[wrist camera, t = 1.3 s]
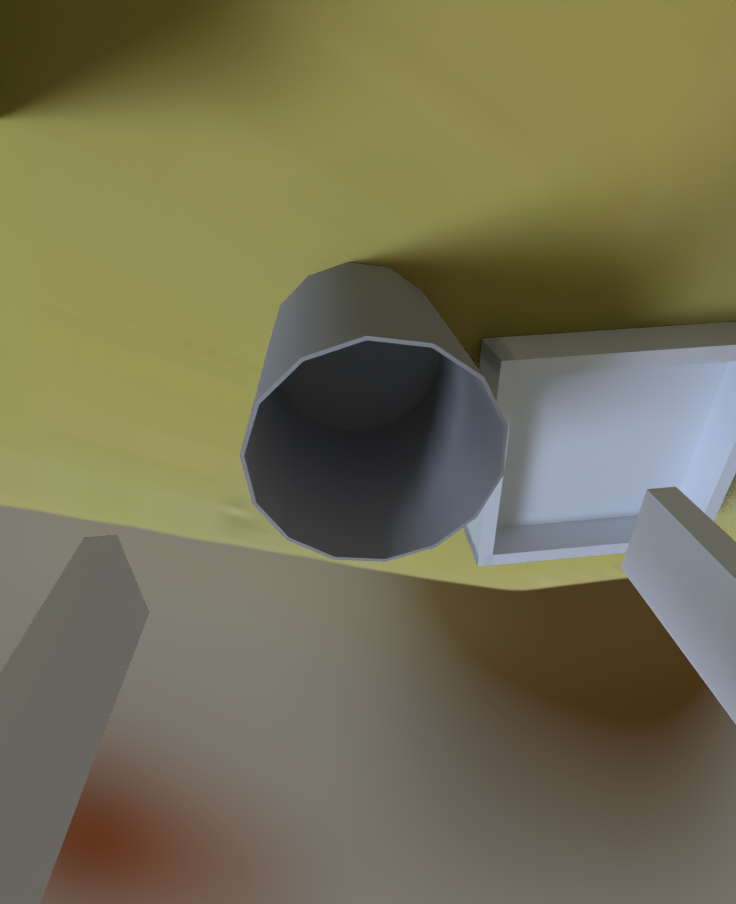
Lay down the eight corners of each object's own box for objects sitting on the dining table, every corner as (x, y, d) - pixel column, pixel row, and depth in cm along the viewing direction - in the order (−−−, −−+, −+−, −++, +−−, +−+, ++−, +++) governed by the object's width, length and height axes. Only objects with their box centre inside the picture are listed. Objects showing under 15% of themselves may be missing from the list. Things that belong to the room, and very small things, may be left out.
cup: (475, 328, 23) (562, 428, 15) (379, 451, 27) (407, 590, 18) (326, 223, 20) (331, 275, 12) (239, 376, 24) (195, 501, 15)
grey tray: (481, 338, 24) (501, 361, 21) (746, 320, 24) (795, 340, 22) (464, 531, 30) (477, 566, 28) (671, 513, 31) (703, 545, 29)
